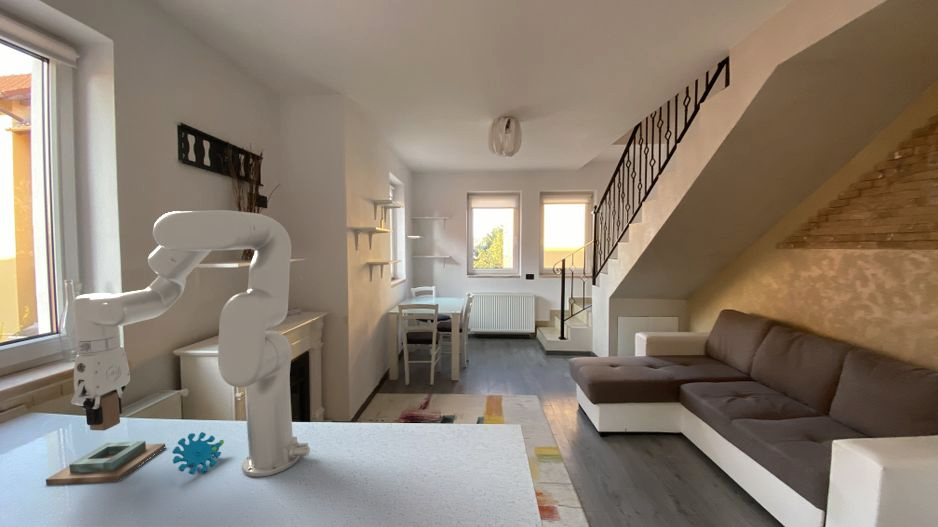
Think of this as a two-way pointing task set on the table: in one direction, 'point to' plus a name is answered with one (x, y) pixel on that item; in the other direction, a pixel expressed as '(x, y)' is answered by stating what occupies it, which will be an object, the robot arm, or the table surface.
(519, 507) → the table surface
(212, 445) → the gear
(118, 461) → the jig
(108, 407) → the wooden block
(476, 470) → the table surface
